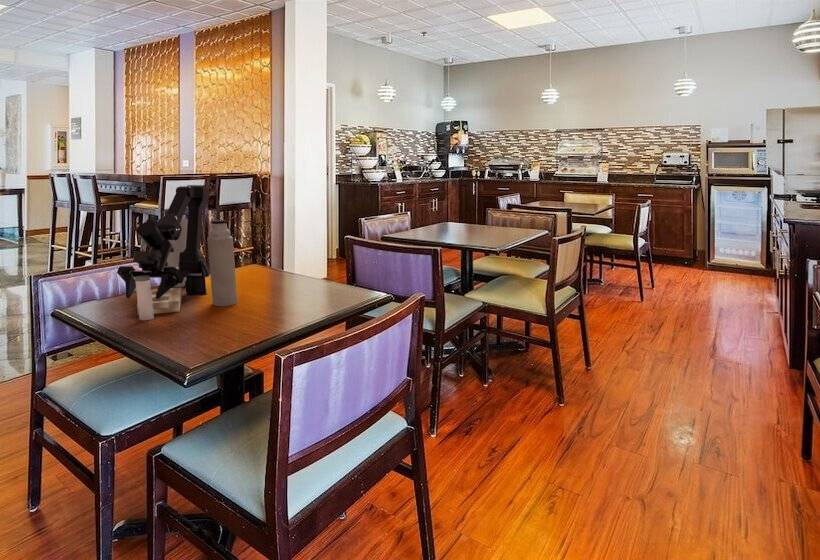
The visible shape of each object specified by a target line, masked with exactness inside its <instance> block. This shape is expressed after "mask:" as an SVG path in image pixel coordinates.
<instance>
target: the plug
mask: <svg viewBox="0 0 820 560" xmlns="http://www.w3.org/2000/svg"><path fill="white" fill-rule="evenodd" d="M135 282H136V288H135V291H136V297H137V302H138V310H139V315H138V318H139V320H140V321H150V320H154V319H155V314H154V312H153V302H152V293H151V290H152V287H151V283H152V282H151V277H150V276H148V275H142V276H136V277H135Z"/></svg>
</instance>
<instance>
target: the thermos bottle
mask: <svg viewBox="0 0 820 560" xmlns="http://www.w3.org/2000/svg"><path fill="white" fill-rule="evenodd" d="M210 223H211V225H210V226H211V229H210V230H209V231H208V236H209V237H207V239H206V240H207V249H208V250H207V251H208V262H209V265H208V266H209V269H210V275H209V276H210V286H211V301H212V305H213V306H216V307H228V306H233V305H235V304H237V303H238V292H237V278H236V277H237V276H236V264H235V248H234V237H233V236H232V235H231V230H230V229H229V228H228V225H227V223H228V221H227V220H225V219H215V220H211V221H210Z"/></svg>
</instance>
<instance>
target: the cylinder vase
mask: <svg viewBox="0 0 820 560" xmlns="http://www.w3.org/2000/svg"><path fill="white" fill-rule="evenodd" d="M156 221H157V222H158V220H156ZM157 222H156V223H157ZM187 222H188V218H182V220H181V223H180V224H181V227H182V231H181V235H180V237H179V239H178V240H168V241H169V242H170V243H171V244H172V247H173V248H174V252H170V253H169V256H168V259H167V263H168V266H165V267H178V269H179V266H178V265H179V254H180V252H183V251H184V250H185V249H186V238H187ZM185 280H187V279H186V277H184V280H183V283H182V284H180V283H178V285H176V286H174V287H173V288H185V287H184V286H185Z"/></svg>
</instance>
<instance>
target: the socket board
mask: <svg viewBox="0 0 820 560" xmlns="http://www.w3.org/2000/svg"><path fill="white" fill-rule="evenodd" d="M157 291H158V289H151V293H152V302H153V312H154V315H155V314H164V313H165V314H167V313H178V312H180V311H181V305H182V299H183V298H182V297H183V296H182V287H172V288H171V289H170V290H168V291H167V292H166V293H165V294H164V295H162V296H161V297H160V298H159V299H156V293H157ZM136 311H137V316H139V310H138V301H137V303H136Z"/></svg>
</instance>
